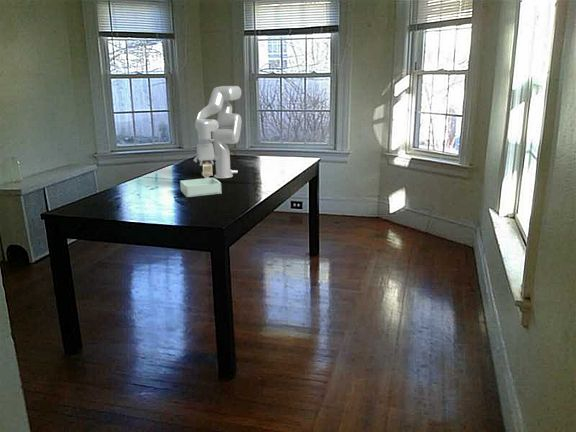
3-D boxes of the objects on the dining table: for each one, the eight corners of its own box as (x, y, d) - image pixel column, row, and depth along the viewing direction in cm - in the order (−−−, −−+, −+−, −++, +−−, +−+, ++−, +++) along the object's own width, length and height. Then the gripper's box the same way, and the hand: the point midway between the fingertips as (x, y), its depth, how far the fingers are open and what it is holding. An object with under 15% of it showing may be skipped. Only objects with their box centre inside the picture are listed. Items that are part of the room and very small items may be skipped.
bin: (214, 187, 311) (213, 177, 310) (221, 193, 295) (221, 183, 294) (180, 190, 304) (179, 180, 303) (186, 197, 288) (185, 186, 287)
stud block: (216, 182, 327) (215, 171, 325) (220, 185, 316) (220, 174, 314) (194, 184, 322) (193, 172, 320) (198, 187, 311) (197, 176, 309)
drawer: (201, 174, 319) (200, 161, 317) (210, 173, 321) (209, 160, 319) (203, 176, 314) (202, 162, 312) (212, 175, 316) (211, 161, 314)
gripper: (217, 139, 318) (219, 169, 323) (189, 142, 312) (191, 171, 317) (220, 141, 311) (222, 171, 317) (191, 143, 305) (194, 173, 311)
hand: (206, 171), depth 317 cm, fingers closed on drawer, 5 cm apart
